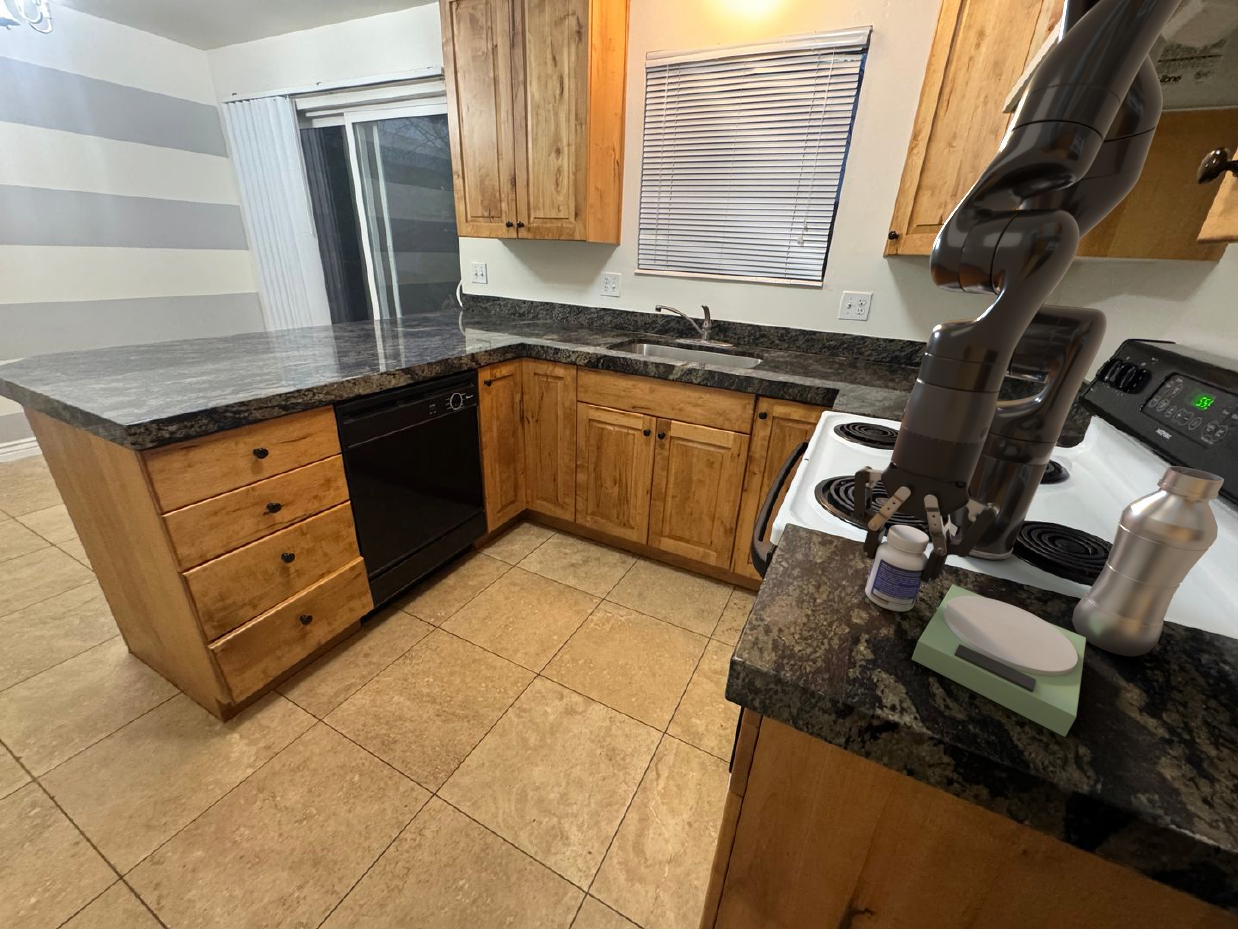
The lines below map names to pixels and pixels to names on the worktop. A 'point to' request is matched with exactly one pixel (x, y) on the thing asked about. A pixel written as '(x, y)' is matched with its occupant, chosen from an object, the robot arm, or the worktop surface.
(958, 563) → the worktop surface
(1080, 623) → the silver metal bottle
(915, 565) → the pill bottle
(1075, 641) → the kitchen scale
